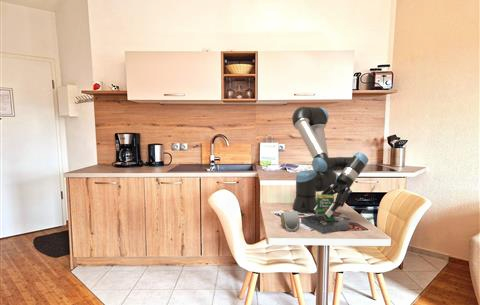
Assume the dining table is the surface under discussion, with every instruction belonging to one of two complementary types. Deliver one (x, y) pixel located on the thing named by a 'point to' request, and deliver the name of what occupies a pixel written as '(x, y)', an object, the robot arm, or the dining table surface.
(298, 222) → the ceramic mug
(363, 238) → the dining table surface
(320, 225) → the housing
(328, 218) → the coffee box
